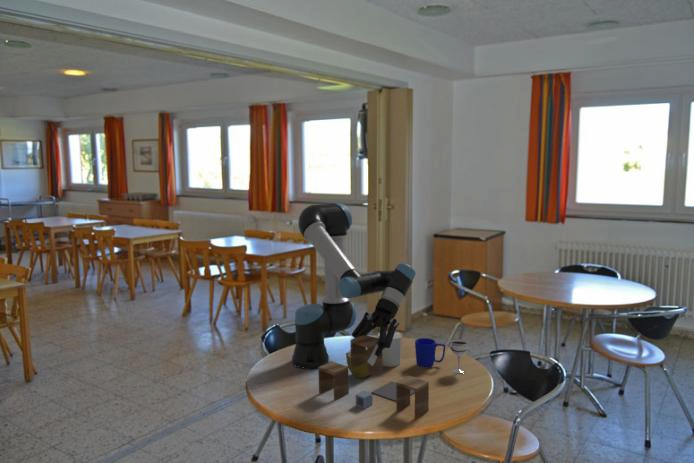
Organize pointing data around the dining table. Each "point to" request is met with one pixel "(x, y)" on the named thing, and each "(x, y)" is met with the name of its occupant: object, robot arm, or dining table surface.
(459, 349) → the wineglass
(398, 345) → the candle holder
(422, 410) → the cover right
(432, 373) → the dining table surface
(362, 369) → the flower pot
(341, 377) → the cover left
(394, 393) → the mat
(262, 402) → the dining table surface
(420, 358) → the mug
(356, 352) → the cover middle
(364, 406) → the cube
